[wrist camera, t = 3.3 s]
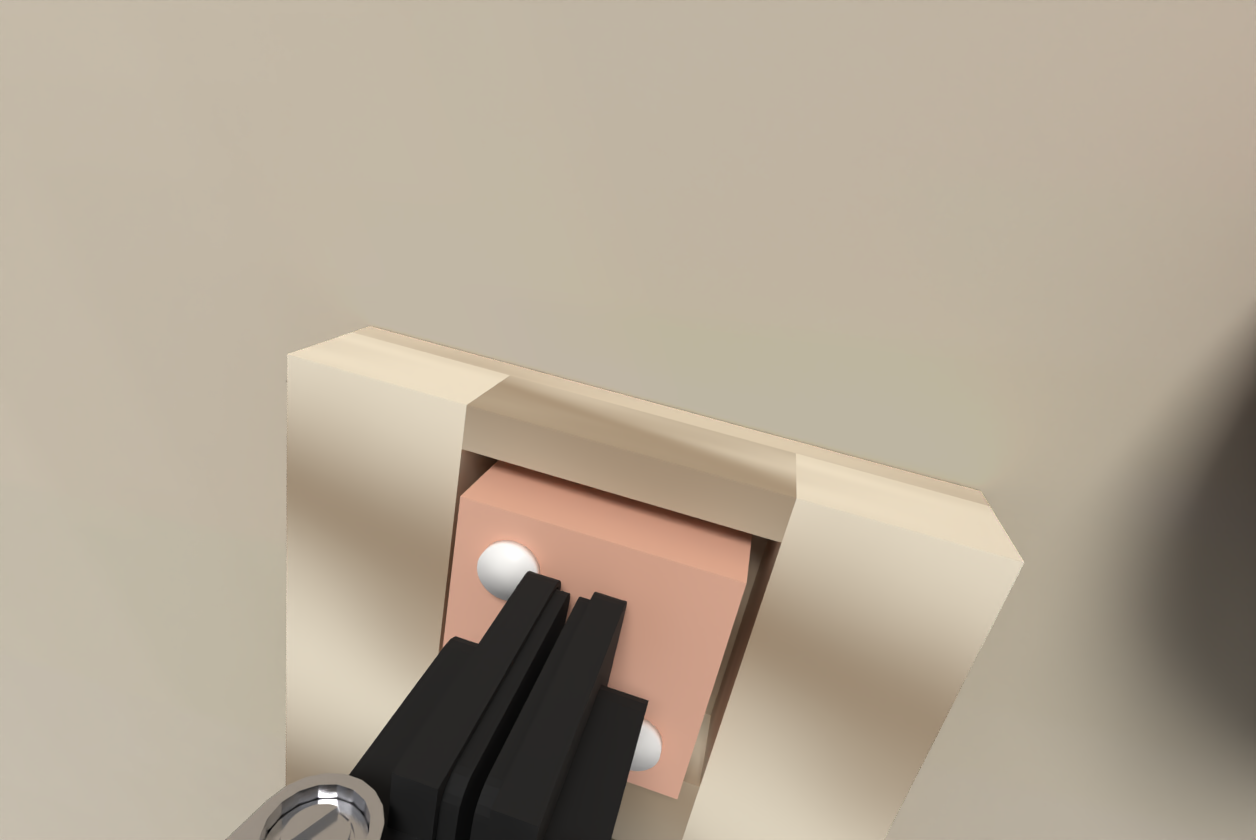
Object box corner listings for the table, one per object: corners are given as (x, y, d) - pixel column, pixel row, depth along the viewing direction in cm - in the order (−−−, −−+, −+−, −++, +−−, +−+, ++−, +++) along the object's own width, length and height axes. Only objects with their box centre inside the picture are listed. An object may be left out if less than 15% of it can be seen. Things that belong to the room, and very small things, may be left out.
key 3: (695, 700, 14) (675, 809, 11) (490, 632, 14) (429, 721, 12) (755, 509, 12) (745, 590, 10) (518, 442, 13) (454, 502, 10)
